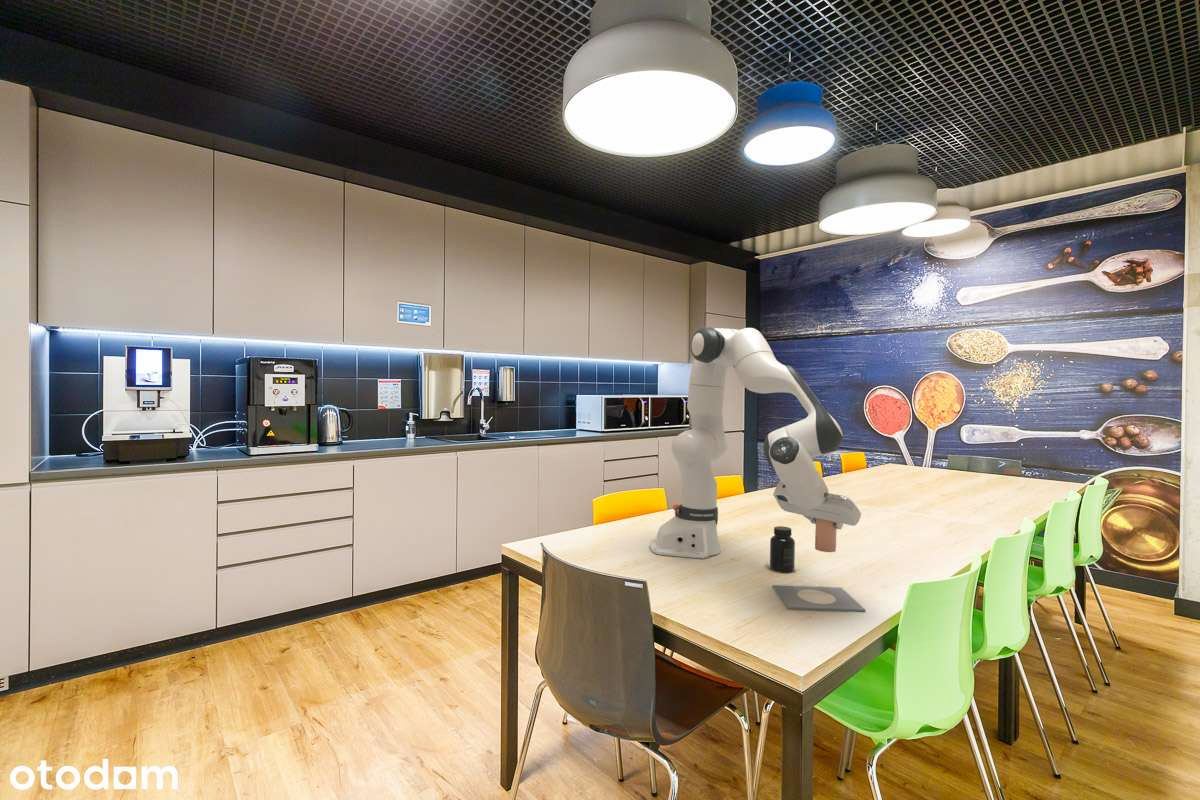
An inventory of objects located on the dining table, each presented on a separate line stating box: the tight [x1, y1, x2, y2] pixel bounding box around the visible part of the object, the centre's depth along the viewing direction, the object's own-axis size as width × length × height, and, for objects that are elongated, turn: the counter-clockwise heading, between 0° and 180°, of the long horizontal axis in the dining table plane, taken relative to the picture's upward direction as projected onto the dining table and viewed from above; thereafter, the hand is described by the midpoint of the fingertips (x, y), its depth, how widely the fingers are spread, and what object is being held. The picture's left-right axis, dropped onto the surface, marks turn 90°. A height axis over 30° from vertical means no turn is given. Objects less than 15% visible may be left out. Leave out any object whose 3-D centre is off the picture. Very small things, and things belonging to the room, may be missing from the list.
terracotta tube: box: [814, 518, 838, 553], centre depth 141 cm, size 5×5×12 cm
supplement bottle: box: [769, 525, 796, 573], centre depth 159 cm, size 7×7×12 cm
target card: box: [771, 584, 866, 612], centre depth 137 cm, size 18×14×1 cm
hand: (827, 524), depth 141 cm, fingers closed on terracotta tube, 5 cm apart
